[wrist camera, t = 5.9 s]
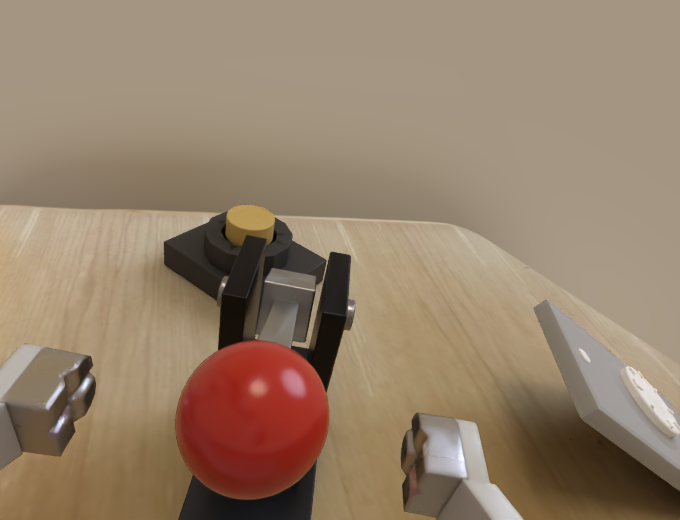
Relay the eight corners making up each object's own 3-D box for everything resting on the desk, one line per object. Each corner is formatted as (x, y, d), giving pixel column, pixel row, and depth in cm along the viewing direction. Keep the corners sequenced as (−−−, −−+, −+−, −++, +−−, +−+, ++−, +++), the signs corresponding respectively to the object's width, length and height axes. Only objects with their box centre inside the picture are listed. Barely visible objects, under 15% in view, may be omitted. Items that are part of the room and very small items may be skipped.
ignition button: (215, 234, 35) (216, 214, 34) (248, 218, 38) (250, 200, 37) (250, 255, 34) (252, 235, 33) (282, 237, 37) (284, 219, 36)
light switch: (761, 514, 27) (616, 400, 22) (662, 547, 30) (514, 452, 25) (681, 394, 34) (558, 288, 29) (607, 430, 37) (484, 338, 32)
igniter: (163, 264, 37) (162, 221, 35) (235, 229, 43) (238, 191, 41) (258, 328, 33) (263, 285, 31) (322, 280, 39) (331, 241, 37)
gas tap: (304, 555, 22) (357, 397, 15) (176, 536, 22) (174, 365, 15) (324, 364, 32) (362, 216, 25) (237, 348, 31) (252, 194, 25)
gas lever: (312, 550, 10) (346, 394, 9) (141, 524, 10) (163, 362, 9) (319, 337, 23) (333, 266, 22) (246, 324, 23) (258, 252, 22)
